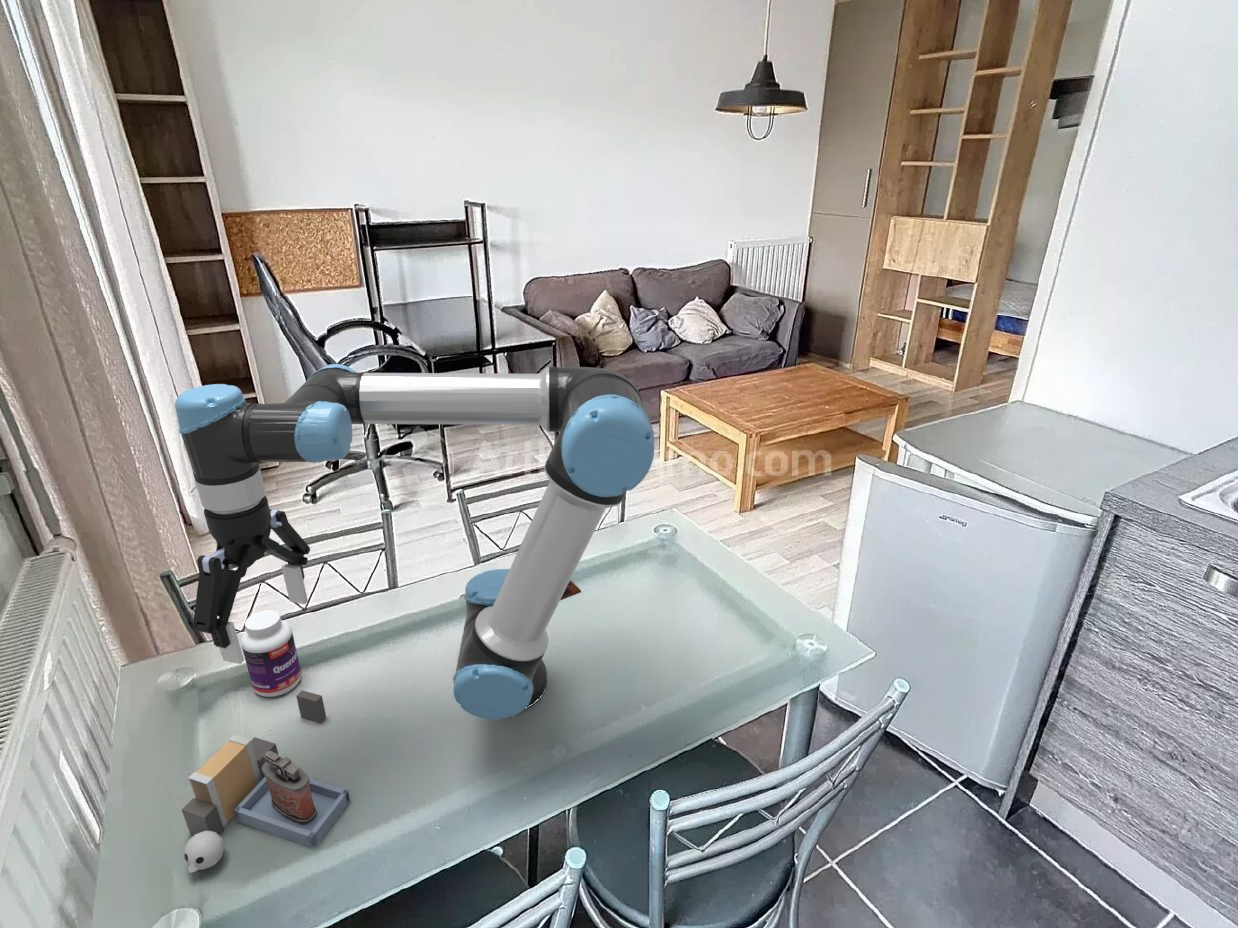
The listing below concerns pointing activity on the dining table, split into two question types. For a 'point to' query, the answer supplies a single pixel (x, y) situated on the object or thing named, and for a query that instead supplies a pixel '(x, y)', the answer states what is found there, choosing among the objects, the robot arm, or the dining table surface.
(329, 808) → the tray
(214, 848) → the figurine
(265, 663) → the pill bottle
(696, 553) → the dining table surface
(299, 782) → the lighter
